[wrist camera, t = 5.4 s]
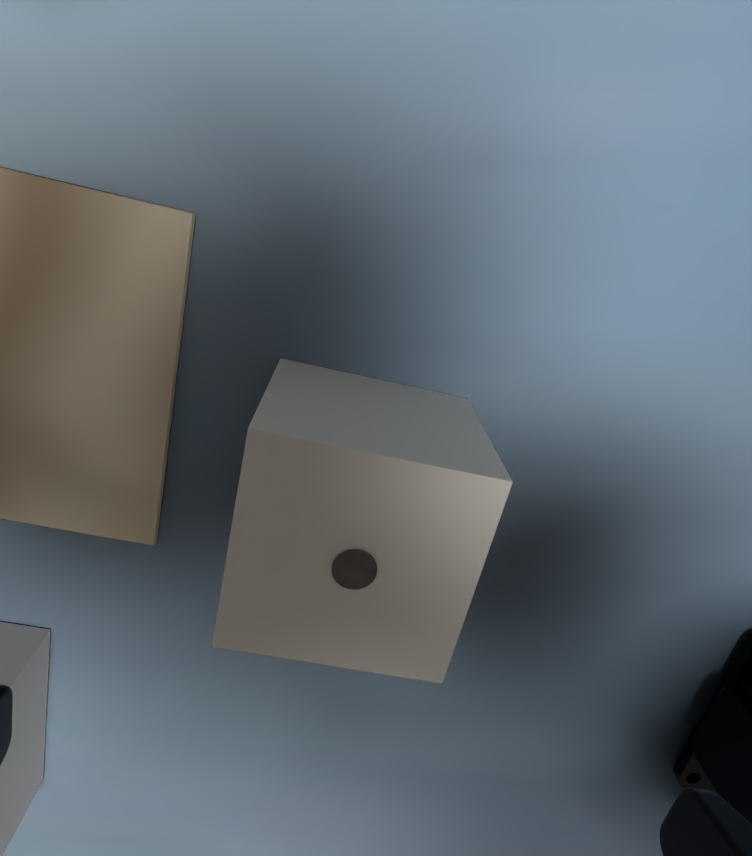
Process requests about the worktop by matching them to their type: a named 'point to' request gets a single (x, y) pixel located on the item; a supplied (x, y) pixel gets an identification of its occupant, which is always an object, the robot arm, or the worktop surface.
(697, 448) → the worktop surface
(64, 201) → the birch tile
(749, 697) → the robot arm
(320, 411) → the die
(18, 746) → the dome base
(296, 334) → the worktop surface
